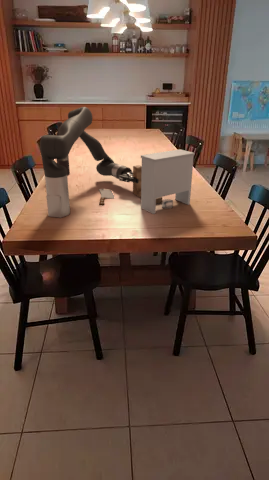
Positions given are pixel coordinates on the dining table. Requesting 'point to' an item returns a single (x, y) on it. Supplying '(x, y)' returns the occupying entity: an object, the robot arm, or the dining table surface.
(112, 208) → the dining table surface
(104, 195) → the kitchen cleaver
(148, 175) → the cabinet
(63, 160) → the wine bottle
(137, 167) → the upright wooden plank
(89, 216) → the dining table surface
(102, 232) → the dining table surface
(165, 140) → the dining table surface
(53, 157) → the robot arm
